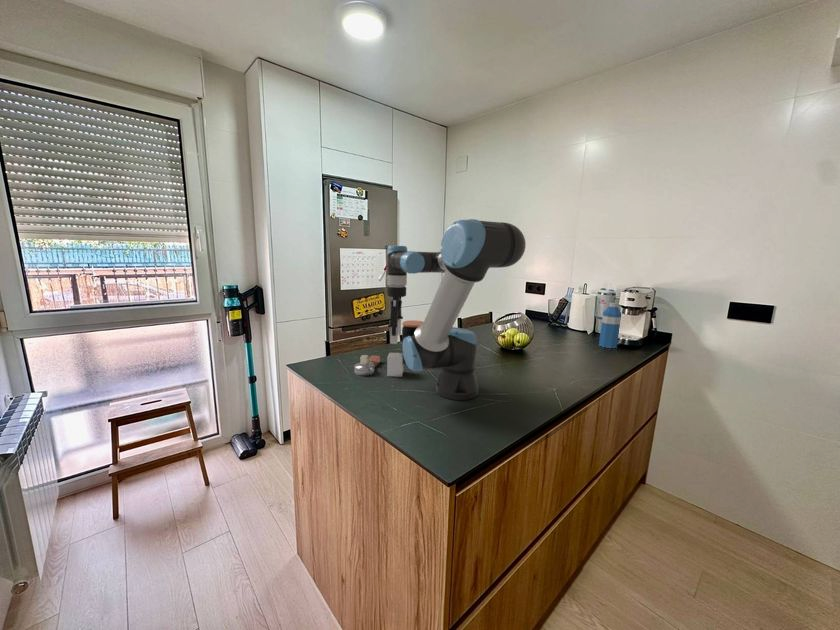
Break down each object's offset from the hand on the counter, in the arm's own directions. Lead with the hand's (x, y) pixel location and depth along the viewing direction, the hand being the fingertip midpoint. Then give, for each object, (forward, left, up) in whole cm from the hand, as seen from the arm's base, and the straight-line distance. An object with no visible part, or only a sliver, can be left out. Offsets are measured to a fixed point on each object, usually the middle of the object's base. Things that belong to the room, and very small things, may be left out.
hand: (395, 338), depth 133 cm
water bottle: (-52, -114, -15) cm, 126 cm away
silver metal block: (0, 0, -15) cm, 15 cm away
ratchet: (+12, +4, -15) cm, 20 cm away
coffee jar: (+6, -17, -15) cm, 23 cm away
